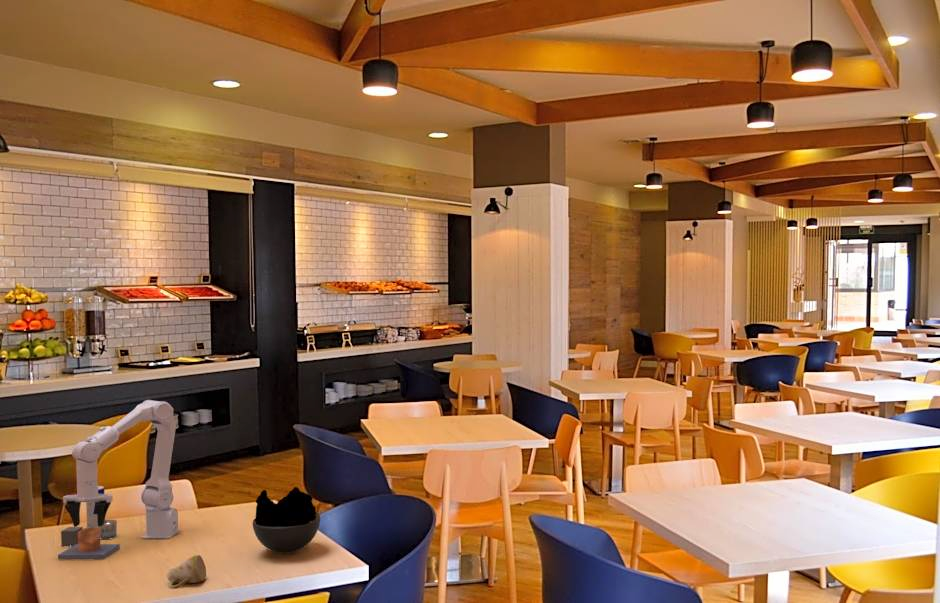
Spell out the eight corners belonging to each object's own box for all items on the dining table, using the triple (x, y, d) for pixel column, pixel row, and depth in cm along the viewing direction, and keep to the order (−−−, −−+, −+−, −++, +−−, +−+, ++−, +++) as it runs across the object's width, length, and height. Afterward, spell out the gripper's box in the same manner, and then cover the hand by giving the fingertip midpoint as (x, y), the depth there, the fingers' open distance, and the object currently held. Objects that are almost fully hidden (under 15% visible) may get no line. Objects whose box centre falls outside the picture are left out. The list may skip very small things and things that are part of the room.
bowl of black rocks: (334, 545, 252) (332, 484, 251) (294, 565, 234) (292, 500, 233) (281, 538, 260) (280, 479, 260) (239, 557, 242) (237, 494, 242)
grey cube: (117, 534, 269) (118, 519, 269) (115, 539, 265) (115, 523, 264) (101, 535, 268) (101, 519, 268) (98, 539, 263) (98, 524, 263)
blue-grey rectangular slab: (119, 548, 254) (119, 544, 254) (103, 559, 244) (103, 554, 244) (76, 549, 254) (75, 544, 254) (58, 559, 244) (57, 554, 244)
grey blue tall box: (98, 535, 269) (97, 489, 269) (83, 534, 270) (82, 489, 270) (109, 530, 275) (107, 485, 274) (94, 529, 276) (93, 485, 276)
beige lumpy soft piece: (168, 580, 225) (186, 546, 227) (198, 596, 224) (216, 561, 226) (158, 582, 218) (177, 547, 220) (189, 599, 217) (208, 564, 219)
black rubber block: (83, 542, 262) (82, 526, 262) (75, 546, 257) (74, 531, 257) (69, 542, 262) (68, 527, 262) (61, 546, 257) (61, 531, 257)
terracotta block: (100, 546, 251) (99, 527, 251) (93, 551, 247) (92, 531, 247) (86, 546, 251) (85, 527, 251) (78, 551, 247) (77, 531, 247)
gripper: (56, 484, 245) (58, 529, 245) (103, 484, 244) (105, 529, 244) (69, 479, 252) (71, 523, 252) (115, 478, 251) (116, 522, 252)
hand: (88, 525), depth 249 cm, fingers open, 7 cm apart
